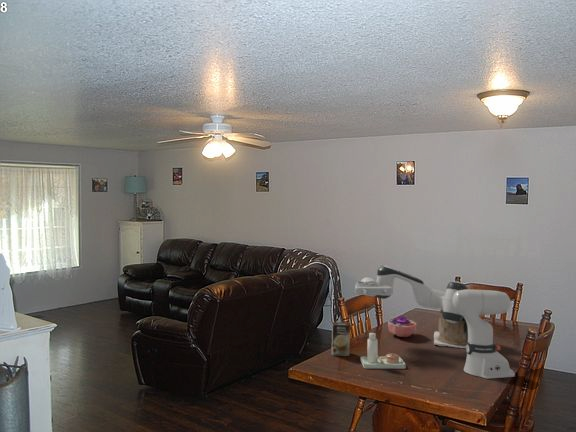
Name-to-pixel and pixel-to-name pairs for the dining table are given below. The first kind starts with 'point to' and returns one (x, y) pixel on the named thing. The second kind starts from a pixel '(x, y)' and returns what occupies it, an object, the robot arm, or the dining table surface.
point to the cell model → (402, 326)
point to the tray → (382, 363)
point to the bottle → (372, 348)
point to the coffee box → (340, 338)
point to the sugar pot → (392, 358)
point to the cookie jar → (451, 333)
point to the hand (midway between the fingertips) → (376, 292)
